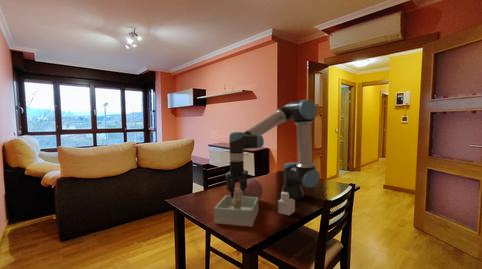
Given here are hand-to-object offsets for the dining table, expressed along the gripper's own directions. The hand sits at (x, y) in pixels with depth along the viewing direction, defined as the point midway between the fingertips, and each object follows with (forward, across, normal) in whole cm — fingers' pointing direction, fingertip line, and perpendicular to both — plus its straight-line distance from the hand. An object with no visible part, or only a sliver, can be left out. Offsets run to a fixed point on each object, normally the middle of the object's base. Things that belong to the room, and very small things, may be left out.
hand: (237, 202), depth 124 cm
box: (+8, 0, 0) cm, 8 cm away
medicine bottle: (+8, -26, +11) cm, 29 cm away
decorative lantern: (+8, -16, -13) cm, 22 cm away
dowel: (+4, 0, 0) cm, 4 cm away
